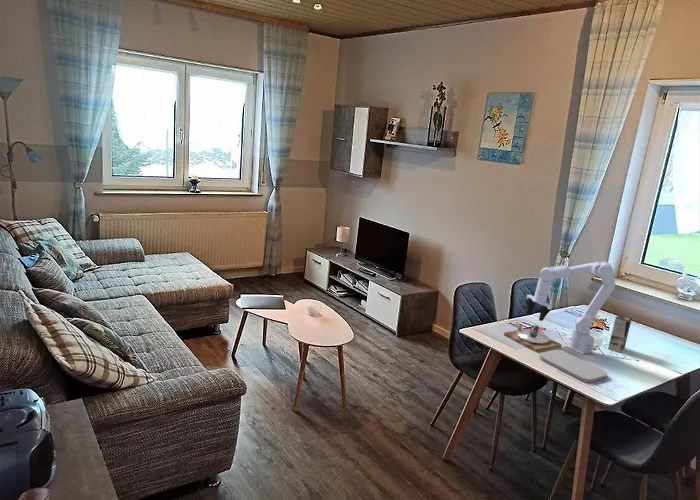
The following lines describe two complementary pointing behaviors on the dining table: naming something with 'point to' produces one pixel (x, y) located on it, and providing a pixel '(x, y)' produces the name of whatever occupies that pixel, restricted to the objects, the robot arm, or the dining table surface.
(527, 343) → the base board
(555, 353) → the tablet
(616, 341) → the coffee box
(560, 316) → the dining table surface
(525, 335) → the white round dish
